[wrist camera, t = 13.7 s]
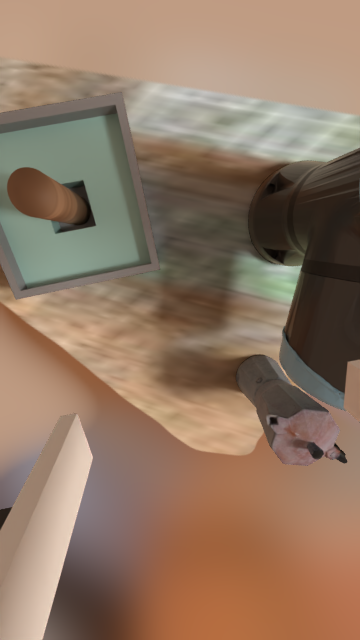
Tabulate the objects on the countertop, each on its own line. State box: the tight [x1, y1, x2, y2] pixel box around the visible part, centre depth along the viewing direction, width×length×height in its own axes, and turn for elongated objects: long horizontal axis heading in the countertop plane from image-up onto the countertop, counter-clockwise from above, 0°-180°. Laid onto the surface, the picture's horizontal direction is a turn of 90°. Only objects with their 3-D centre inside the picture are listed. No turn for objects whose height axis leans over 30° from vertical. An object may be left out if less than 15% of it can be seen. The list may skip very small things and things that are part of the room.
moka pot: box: [236, 355, 347, 466], centre depth 39 cm, size 10×15×20 cm, turn 62°
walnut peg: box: [7, 167, 91, 225], centre depth 28 cm, size 4×4×14 cm
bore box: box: [0, 92, 160, 299], centre depth 33 cm, size 20×20×6 cm
